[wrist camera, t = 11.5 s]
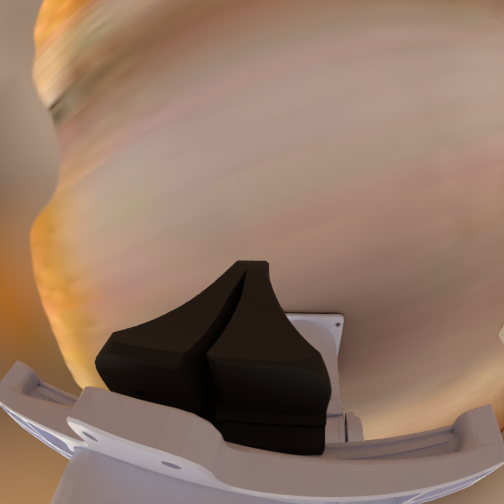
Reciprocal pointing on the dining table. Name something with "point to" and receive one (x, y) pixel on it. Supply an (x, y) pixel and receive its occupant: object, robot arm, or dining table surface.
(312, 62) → the dining table surface
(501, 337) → the serving corral
